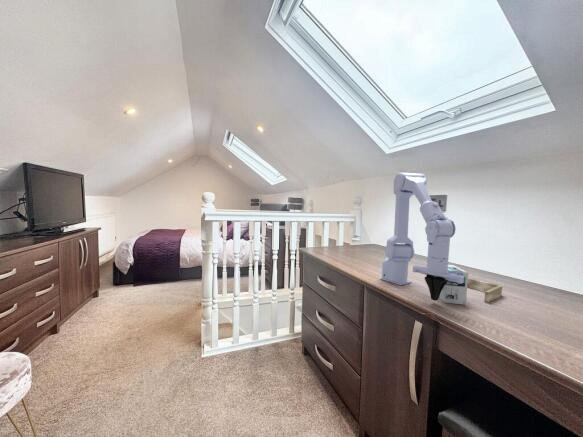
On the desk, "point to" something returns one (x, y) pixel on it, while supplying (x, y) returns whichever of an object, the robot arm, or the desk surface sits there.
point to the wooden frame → (486, 289)
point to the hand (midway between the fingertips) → (434, 299)
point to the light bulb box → (455, 288)
